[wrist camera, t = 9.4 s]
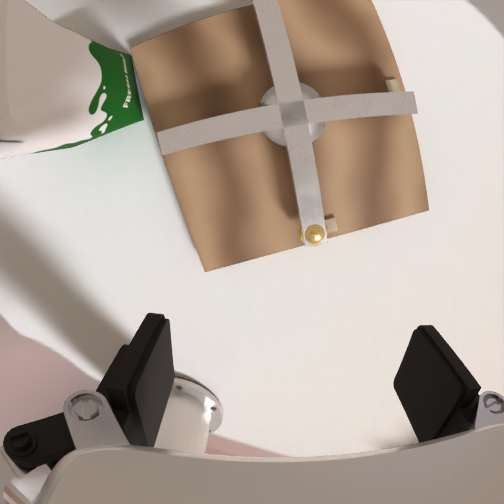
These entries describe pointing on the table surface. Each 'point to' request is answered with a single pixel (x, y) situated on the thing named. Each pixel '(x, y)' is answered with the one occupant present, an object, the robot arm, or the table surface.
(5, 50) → the milk carton
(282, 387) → the table surface
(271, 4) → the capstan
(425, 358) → the robot arm
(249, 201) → the stand plate
